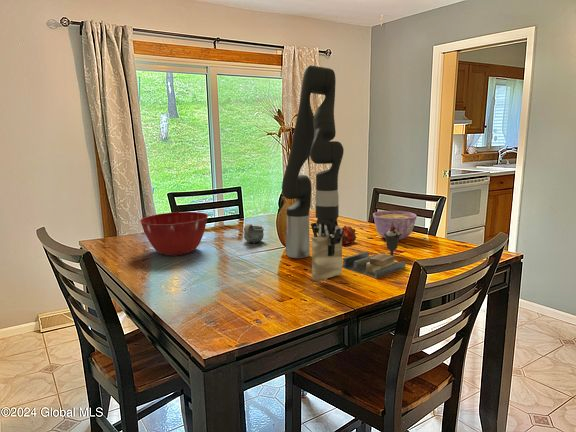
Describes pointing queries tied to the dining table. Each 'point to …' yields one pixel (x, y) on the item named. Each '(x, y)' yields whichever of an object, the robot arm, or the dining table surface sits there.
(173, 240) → the mixing bowl
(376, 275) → the rack
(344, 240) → the dragon fruit
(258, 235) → the mug
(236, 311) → the dining table surface
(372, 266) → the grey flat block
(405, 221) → the bowl of food
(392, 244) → the sundae
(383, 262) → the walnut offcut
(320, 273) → the pale wood block
